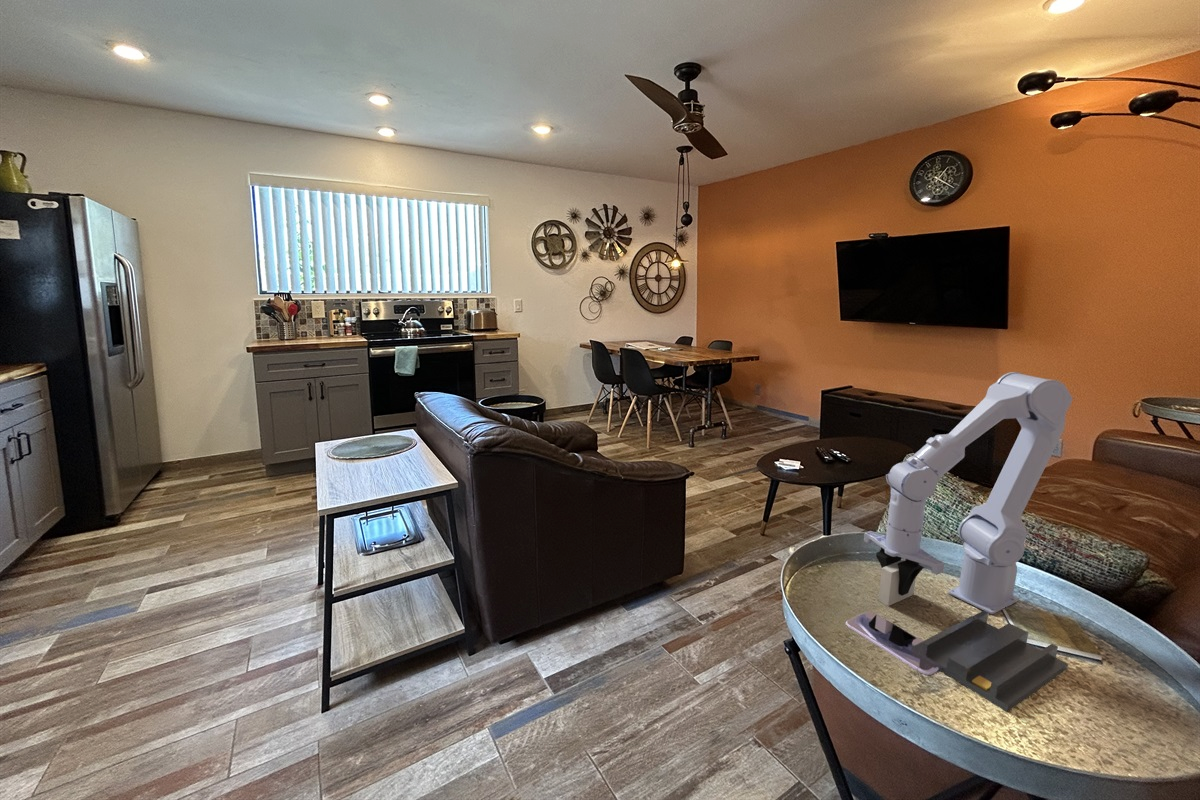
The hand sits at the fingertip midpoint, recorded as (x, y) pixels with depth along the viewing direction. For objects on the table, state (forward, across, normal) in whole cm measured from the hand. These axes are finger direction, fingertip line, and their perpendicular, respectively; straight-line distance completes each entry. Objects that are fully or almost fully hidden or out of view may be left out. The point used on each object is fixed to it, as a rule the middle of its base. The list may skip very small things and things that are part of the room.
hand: (896, 590), depth 101 cm
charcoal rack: (+2, +18, -4) cm, 19 cm away
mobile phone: (+2, +8, -12) cm, 15 cm away
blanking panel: (+2, 0, 0) cm, 2 cm away
